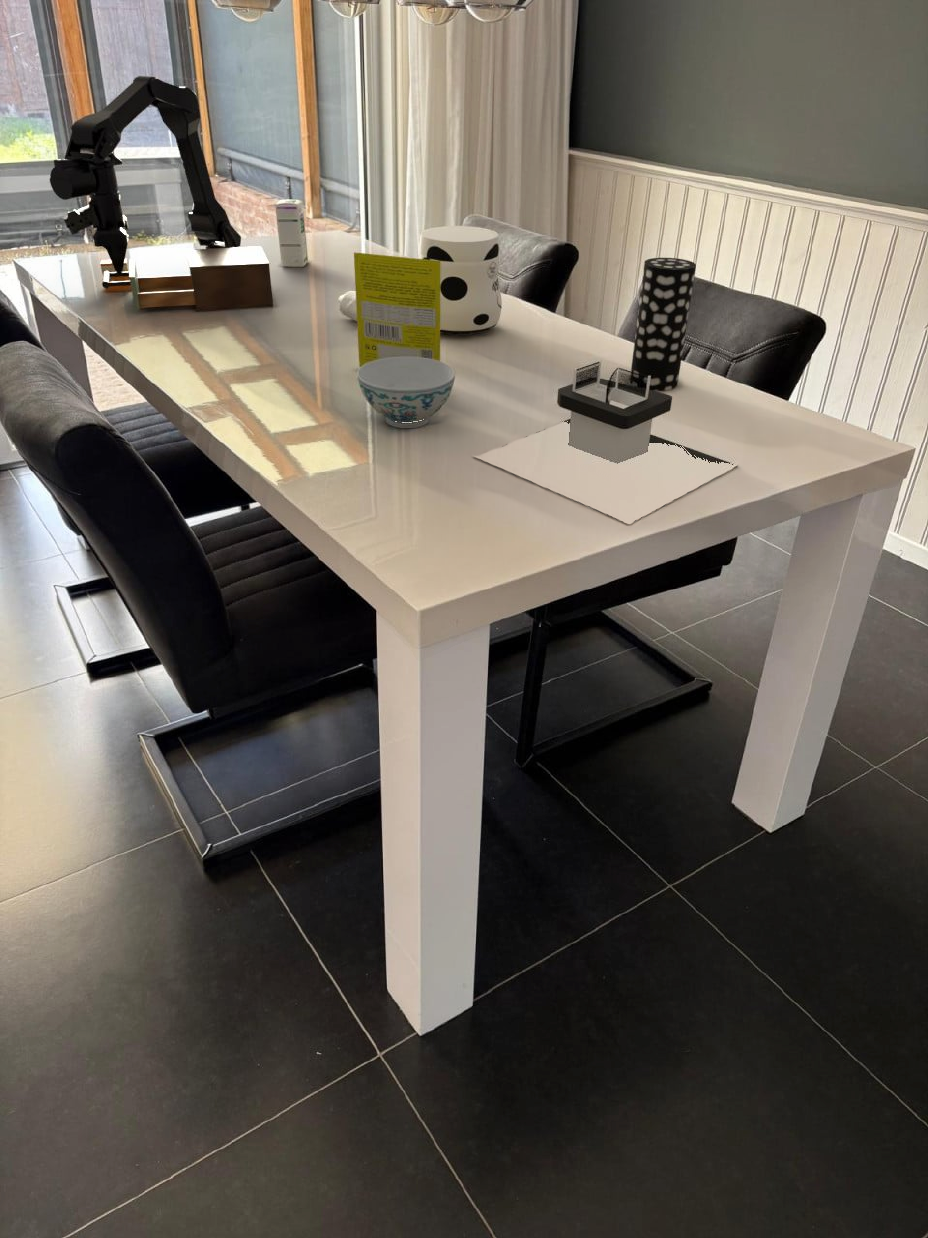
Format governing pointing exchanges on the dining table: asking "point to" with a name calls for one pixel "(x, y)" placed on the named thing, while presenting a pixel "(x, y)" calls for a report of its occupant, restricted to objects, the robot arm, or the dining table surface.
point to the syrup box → (291, 233)
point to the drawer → (154, 288)
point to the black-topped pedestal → (615, 415)
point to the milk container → (465, 276)
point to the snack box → (108, 266)
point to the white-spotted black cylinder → (662, 321)
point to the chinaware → (406, 388)
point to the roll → (349, 305)
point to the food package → (397, 307)
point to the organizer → (230, 278)
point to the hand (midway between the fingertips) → (119, 273)
